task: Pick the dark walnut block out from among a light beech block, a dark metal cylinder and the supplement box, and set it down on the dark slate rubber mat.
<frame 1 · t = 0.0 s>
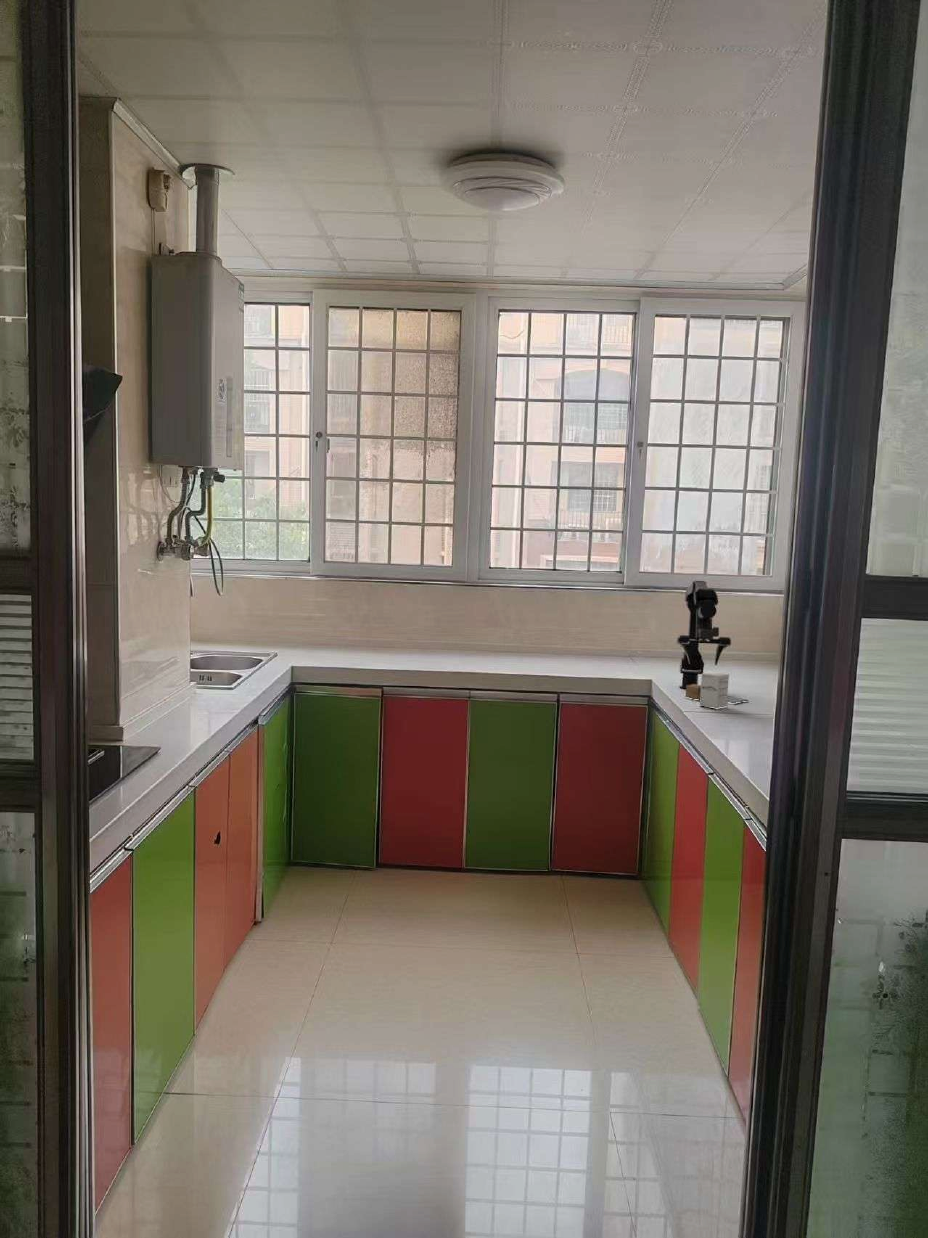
hand: (703, 664, 354), 15 cm above the worktop, tool pointing down, fingers open, 9 cm apart
supplement box: (713, 707, 355), on the worktop
slate mat: (730, 701, 367), on the worktop
walnut block: (694, 698, 370), on the worktop
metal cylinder: (708, 703, 362), on the worktop
beech block: (708, 696, 376), on the worktop
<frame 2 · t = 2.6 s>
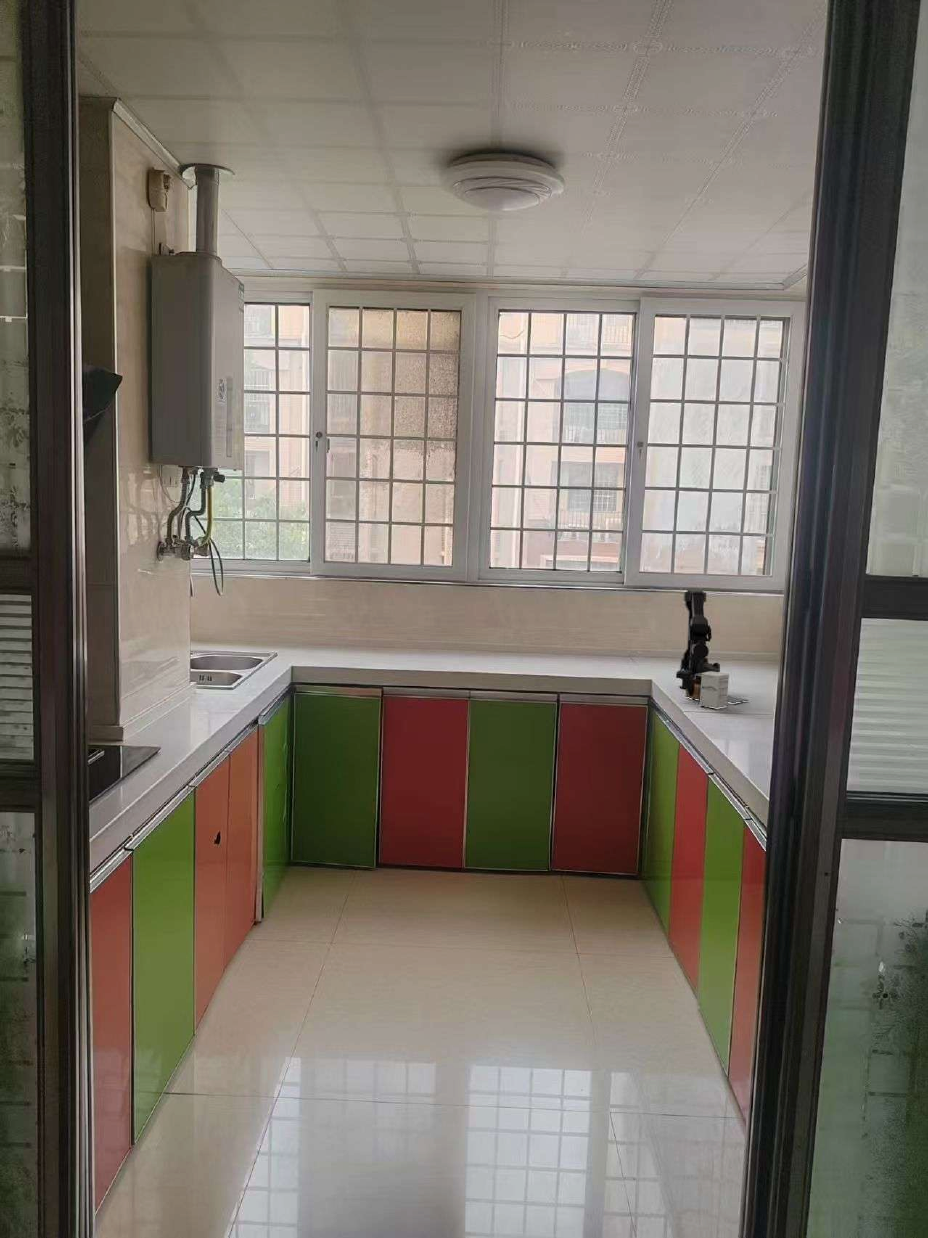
hand: (695, 695, 370), 1 cm above the worktop, tool pointing down, fingers closed on walnut block, 5 cm apart
walnut block: (694, 698, 370), on the worktop, touching gripper
everything else where it was.
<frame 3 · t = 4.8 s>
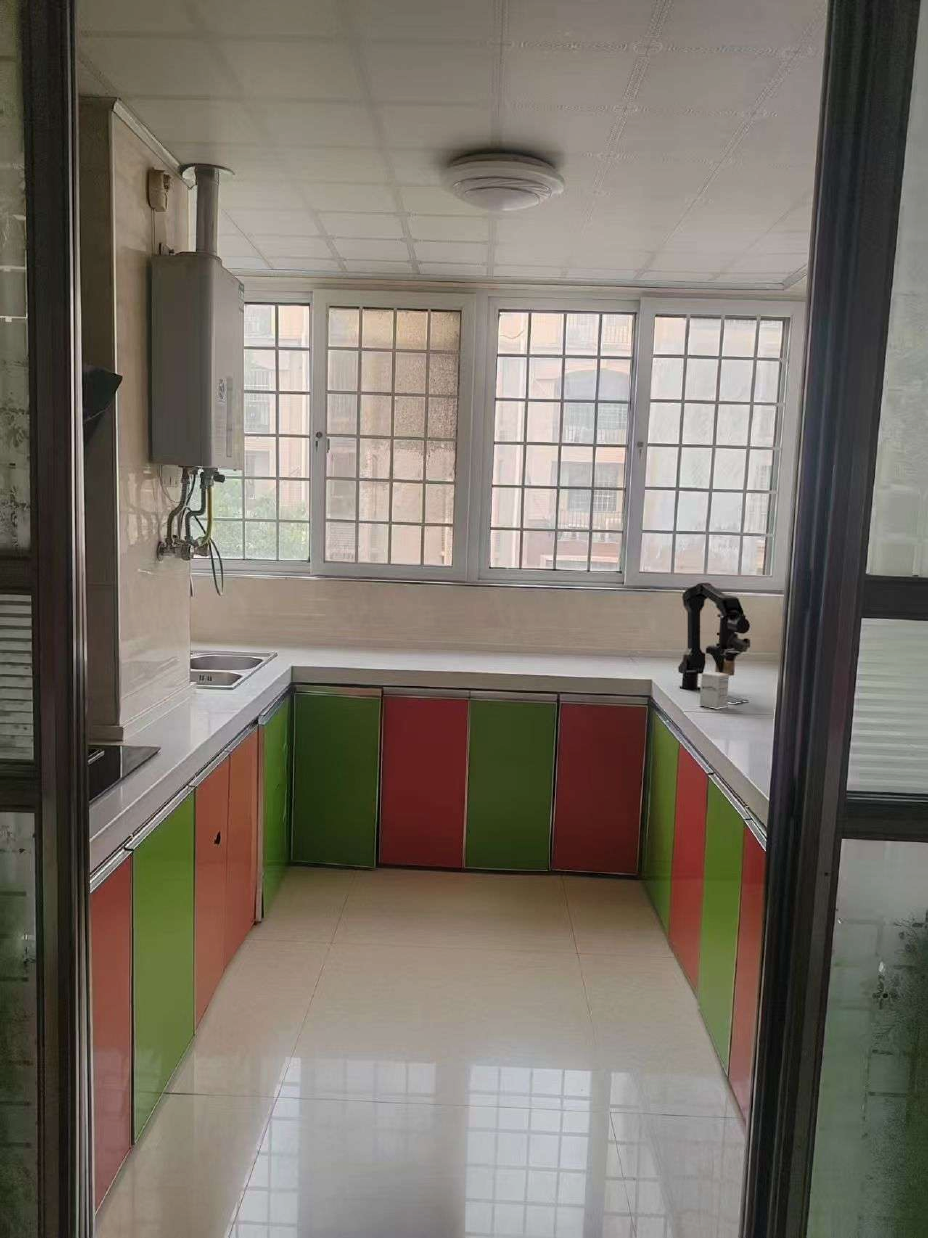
hand: (724, 671, 365), 11 cm above the worktop, tool pointing down, fingers closed on walnut block, 5 cm apart
walnut block: (724, 674, 366), point 10 cm above the worktop, touching gripper
everything else where it was.
when the fingers open (3 cm above the worktop, at t = 6.8 s): walnut block drops 1 cm, resting on slate mat.
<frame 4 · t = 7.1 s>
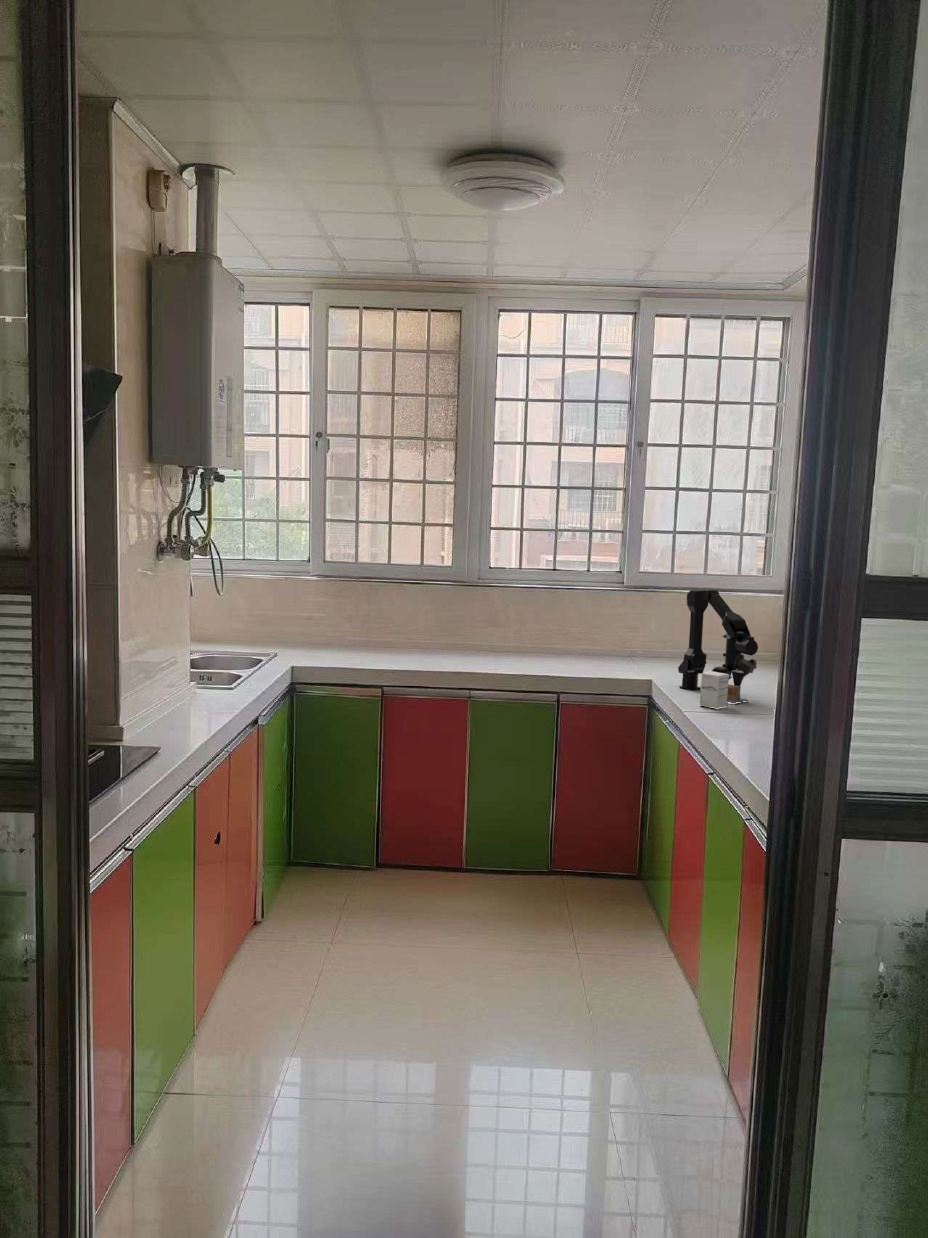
hand: (730, 692, 366), 3 cm above the worktop, tool pointing down, fingers open, 8 cm apart
walnut block: (730, 699, 366), point 1 cm above the worktop, touching slate mat
everything else where it was.
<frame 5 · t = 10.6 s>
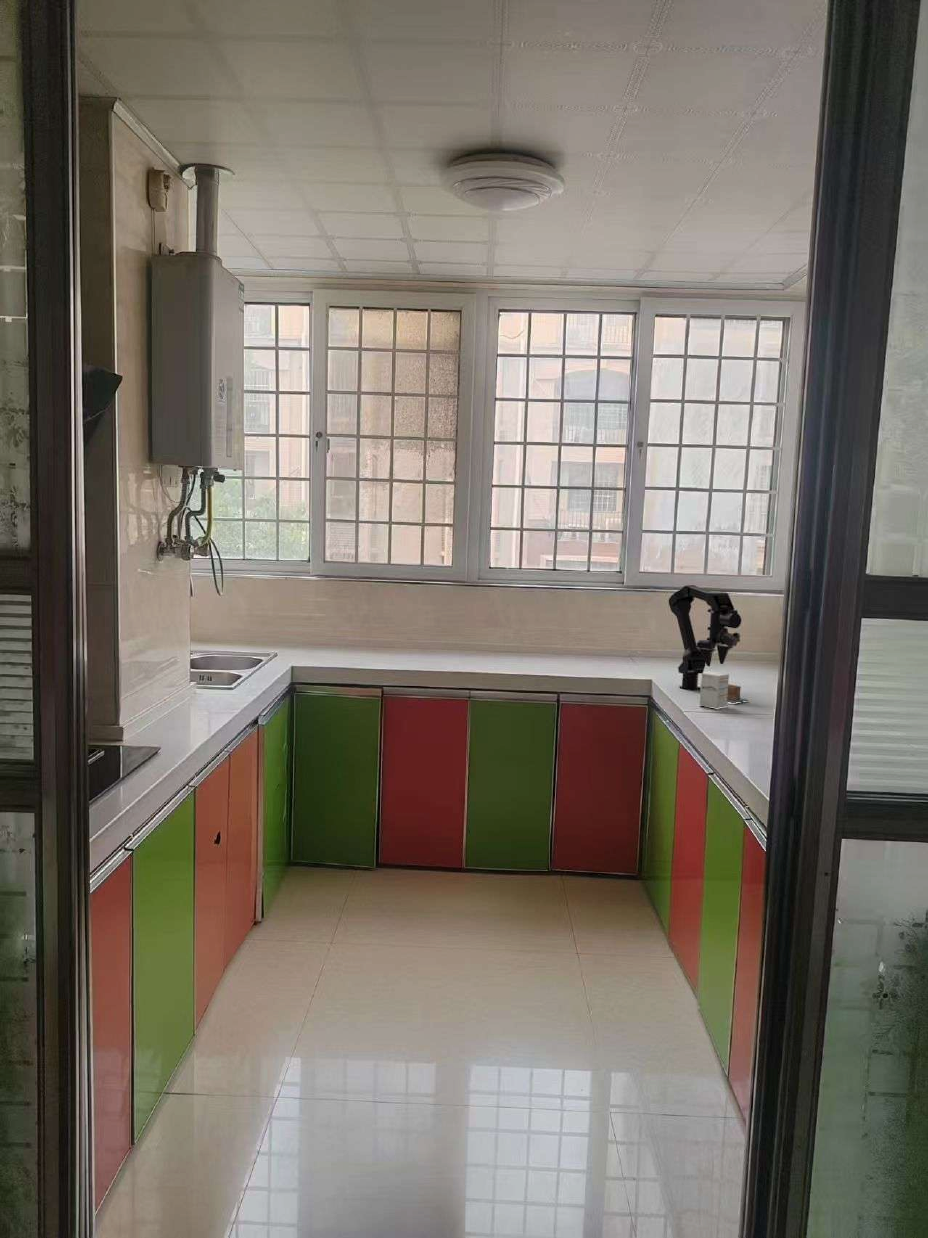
hand: (715, 665, 375), 12 cm above the worktop, tool pointing down, fingers open, 9 cm apart
nothing on the worktop moved.
at the end: walnut block inside the target area on the slate mat (0.0 cm from its centre), point 0.8 cm above the slate mat's base; walnut block tilted 0°; the gripper is holding nothing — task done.
